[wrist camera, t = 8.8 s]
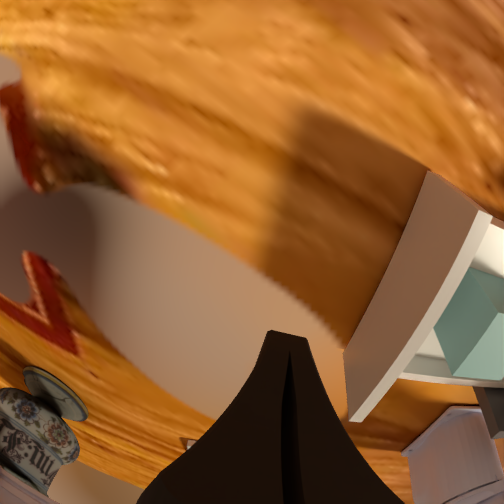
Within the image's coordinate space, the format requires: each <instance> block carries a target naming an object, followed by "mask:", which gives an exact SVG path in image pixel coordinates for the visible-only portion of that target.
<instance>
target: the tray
mask: <svg viewBox="0 0 504 504" xmlns="http://www.w3.org/2000/svg"><path fill="white" fill-rule="evenodd" d="M469 267H472V268H474V269H477V270H480V271H483V272H486V273H489V274H491V275H494V276H497V277H500V278H503V279H504V222H503V221H501V220H499V219H497V218H495V217H493V216H492V215H491V214H489V213H488V212H487V211H486V210H485V209H483V208H482V207H481V206H480V205H478V204H477V203H476V202H475V201H473V200H472V199H471V198H470V197H468V196H467V195H466V194H464V193H463V192H462V191H461V190H459V189H458V188H457V187H455V186H454V185H453V184H451V183H450V182H448V181H447V180H446V179H444V178H443V177H442V176H440V175H438V174H436V173H433V172H431V171H427V174H426V176H425V179H424V182H423V184H422V187H421V190H420V192H419V195H418V198H417V200H416V203H415V205H414V208H413V210H412V213H411V215H410V218H409V220H408V222H407V225H406V227H405V230H404V232H403V234H402V237H401V239H400V241H399V243H398V246H397V248H396V250H395V252H394V255H393V257H392V259H391V261H390V263H389V266H388V268H387V270H386V272H385V274H384V276H383V278H382V280H381V282H380V284H379V286H378V288H377V290H376V292H375V294H374V296H373V298H372V300H371V302H370V304H369V306H368V308H367V310H366V312H365V314H364V316H363V318H362V320H361V321H360V323H359V325H358V327H357V329H356V331H355V333H354V334H353V336H352V338H351V340H350V342H349V343H348V345H347V347H346V349H345V350H344V352H343V359H344V369H345V379H346V391H347V404H348V419H349V421H352V422H362V421H363V420H364V419H365V417H366V416H367V415H368V414H369V413H370V412H371V410H372V409H373V408H374V407H375V406H376V405H377V403H378V402H379V401H380V400H381V399H382V397H383V396H384V395H385V394H386V392H387V391H388V390H389V389H390V387H391V386H392V385H393V383H394V382H395V381H396V380H397V378H401V379H409V380H417V381H425V382H434V383H443V384H454V385H465V386H478V387H494V388H504V377H503V378H502V380H489V379H478V378H468V377H458V376H452V374H451V372H450V369H449V366H448V364H447V361H446V358H445V356H444V353H443V351H442V348H441V346H440V343H439V341H438V338H437V336H436V334H435V331H434V329H433V327H434V326H435V324H436V323H437V321H438V319H439V318H440V316H441V315H442V313H443V311H444V310H445V308H446V306H447V305H448V303H449V301H450V300H451V298H452V296H453V295H454V293H455V291H456V289H457V288H458V286H459V284H460V282H461V280H462V279H463V277H464V275H465V273H466V271H467V269H468V268H469Z"/></svg>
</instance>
